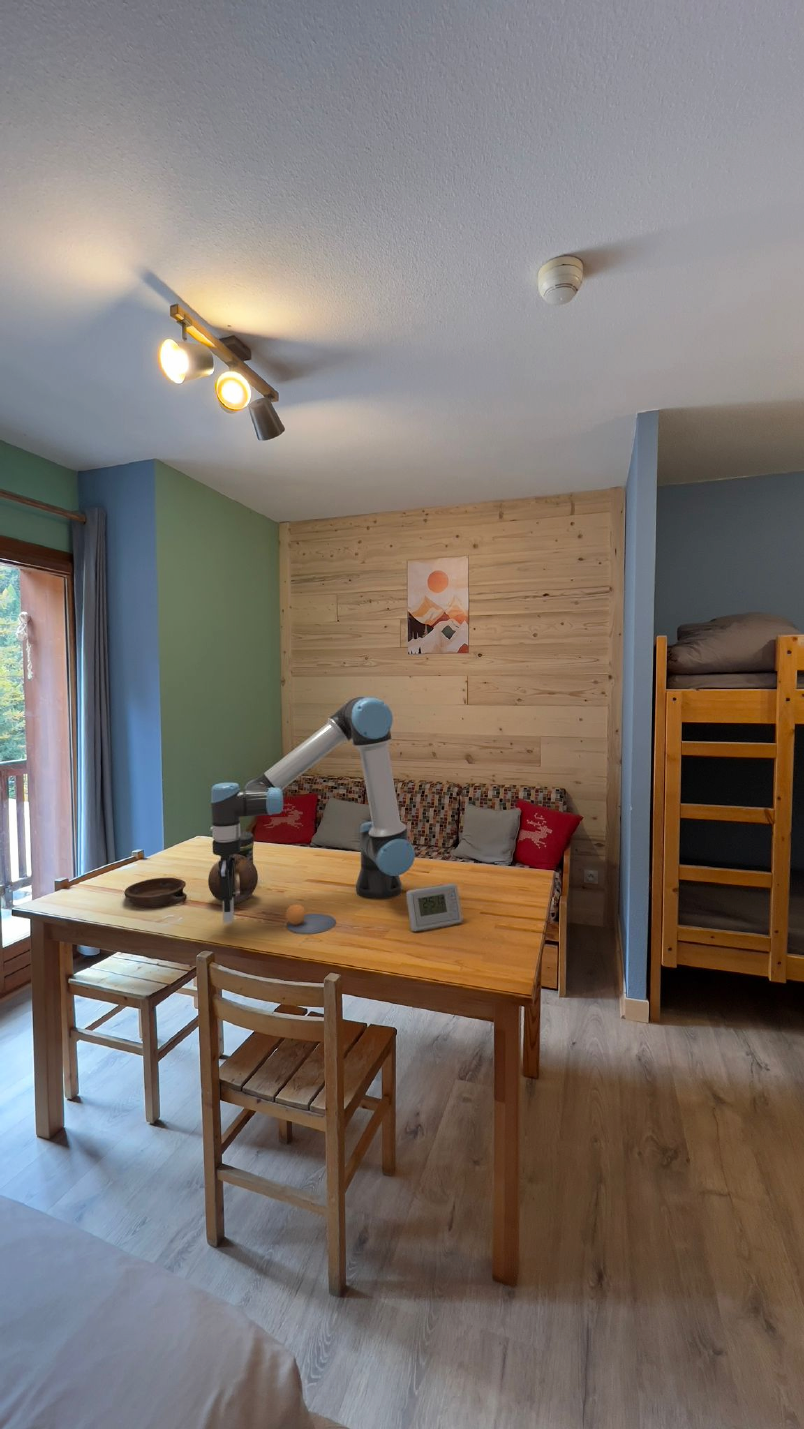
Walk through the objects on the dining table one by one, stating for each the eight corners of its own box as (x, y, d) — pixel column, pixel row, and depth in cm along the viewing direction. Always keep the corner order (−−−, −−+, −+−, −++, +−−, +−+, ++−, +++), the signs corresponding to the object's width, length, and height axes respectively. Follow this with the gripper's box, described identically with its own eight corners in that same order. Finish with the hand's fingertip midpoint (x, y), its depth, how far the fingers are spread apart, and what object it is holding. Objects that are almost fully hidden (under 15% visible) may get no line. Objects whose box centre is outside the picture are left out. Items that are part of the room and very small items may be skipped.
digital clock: (409, 934, 162) (409, 895, 162) (403, 921, 171) (402, 884, 171) (466, 928, 166) (466, 891, 165) (457, 916, 174) (457, 880, 174)
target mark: (335, 913, 177) (335, 912, 177) (335, 932, 164) (335, 931, 164) (288, 915, 176) (288, 914, 176) (284, 935, 162) (284, 934, 162)
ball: (290, 923, 172) (308, 916, 173) (288, 930, 167) (307, 923, 167) (284, 905, 172) (302, 899, 172) (282, 912, 166) (301, 905, 167)
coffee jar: (244, 893, 195) (243, 837, 194) (223, 891, 197) (221, 836, 196) (258, 883, 205) (257, 830, 204) (237, 881, 207) (236, 829, 206)
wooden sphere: (219, 893, 195) (218, 848, 194) (264, 894, 194) (263, 848, 193) (201, 911, 180) (199, 862, 179) (249, 911, 179) (248, 862, 178)
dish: (144, 889, 200) (143, 874, 200) (202, 894, 195) (202, 879, 195) (107, 908, 183) (106, 892, 183) (170, 914, 178) (169, 898, 178)
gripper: (217, 833, 172) (219, 913, 173) (207, 845, 159) (209, 931, 160) (243, 832, 173) (245, 911, 174) (236, 844, 160) (238, 930, 161)
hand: (228, 921), depth 167 cm, fingers closed
